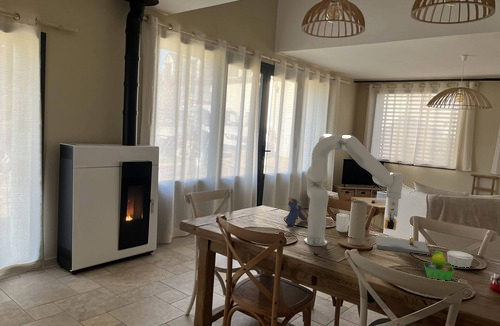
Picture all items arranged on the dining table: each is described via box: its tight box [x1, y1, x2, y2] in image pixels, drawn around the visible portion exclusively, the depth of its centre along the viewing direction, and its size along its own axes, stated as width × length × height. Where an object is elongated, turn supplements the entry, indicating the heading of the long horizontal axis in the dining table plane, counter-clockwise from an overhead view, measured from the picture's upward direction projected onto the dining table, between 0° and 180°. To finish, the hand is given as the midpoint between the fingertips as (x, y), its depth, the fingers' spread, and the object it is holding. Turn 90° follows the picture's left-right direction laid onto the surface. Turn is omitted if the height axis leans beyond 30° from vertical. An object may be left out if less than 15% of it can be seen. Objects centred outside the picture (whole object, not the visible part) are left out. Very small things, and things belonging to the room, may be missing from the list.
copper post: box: [408, 236, 415, 245], centre depth 202 cm, size 2×2×4 cm
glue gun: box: [285, 197, 309, 227], centre depth 241 cm, size 6×31×15 cm
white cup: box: [335, 213, 350, 233], centre depth 231 cm, size 8×8×10 cm
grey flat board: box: [375, 235, 431, 256], centre depth 204 cm, size 18×26×2 cm
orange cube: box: [383, 217, 398, 231], centre depth 205 cm, size 6×6×5 cm
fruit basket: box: [423, 250, 455, 281], centre depth 163 cm, size 11×9×11 cm
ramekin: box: [446, 250, 474, 269], centre depth 181 cm, size 11×11×5 cm
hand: (389, 227), depth 205 cm, fingers closed on orange cube, 5 cm apart
